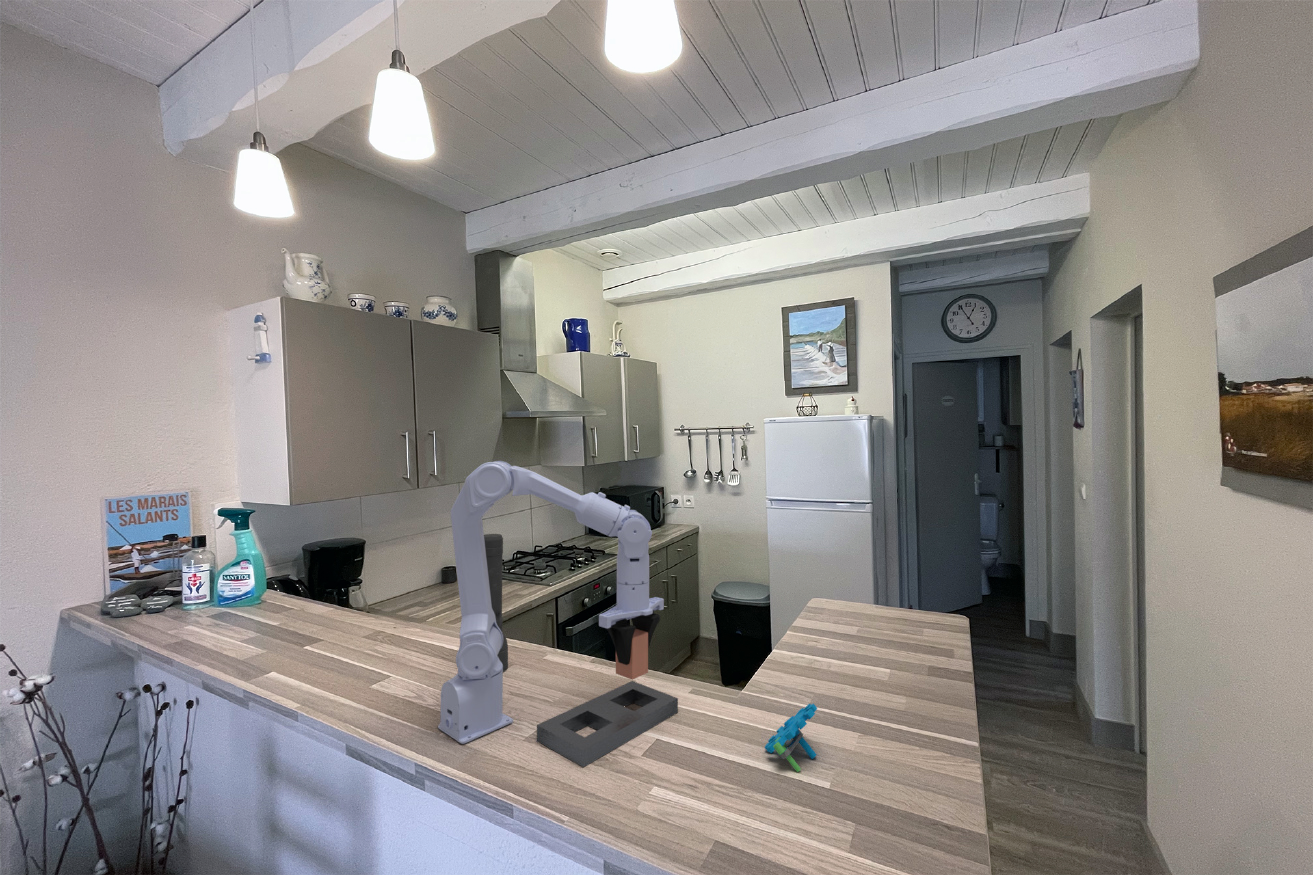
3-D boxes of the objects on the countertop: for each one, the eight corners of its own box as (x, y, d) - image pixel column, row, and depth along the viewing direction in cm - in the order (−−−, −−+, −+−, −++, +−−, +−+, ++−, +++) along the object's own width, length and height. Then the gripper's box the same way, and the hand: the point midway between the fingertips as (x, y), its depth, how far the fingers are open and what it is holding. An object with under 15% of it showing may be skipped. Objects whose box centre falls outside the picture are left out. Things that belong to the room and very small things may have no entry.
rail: (583, 767, 80) (583, 749, 80) (536, 740, 87) (536, 724, 87) (677, 712, 96) (677, 698, 96) (632, 694, 103) (632, 680, 103)
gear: (779, 719, 91) (819, 689, 86) (805, 751, 88) (847, 723, 84) (748, 758, 82) (790, 728, 77) (776, 795, 80) (821, 766, 75)
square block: (632, 679, 93) (632, 638, 93) (615, 673, 96) (615, 633, 96) (648, 672, 96) (648, 632, 96) (631, 666, 99) (631, 627, 99)
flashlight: (475, 678, 110) (510, 672, 113) (476, 538, 111) (511, 536, 114) (470, 665, 117) (504, 660, 120) (472, 533, 117) (505, 531, 120)
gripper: (620, 593, 88) (620, 678, 88) (676, 577, 99) (676, 652, 99) (590, 586, 93) (590, 666, 92) (647, 571, 104) (647, 643, 103)
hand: (632, 659), depth 96 cm, fingers closed on square block, 4 cm apart
